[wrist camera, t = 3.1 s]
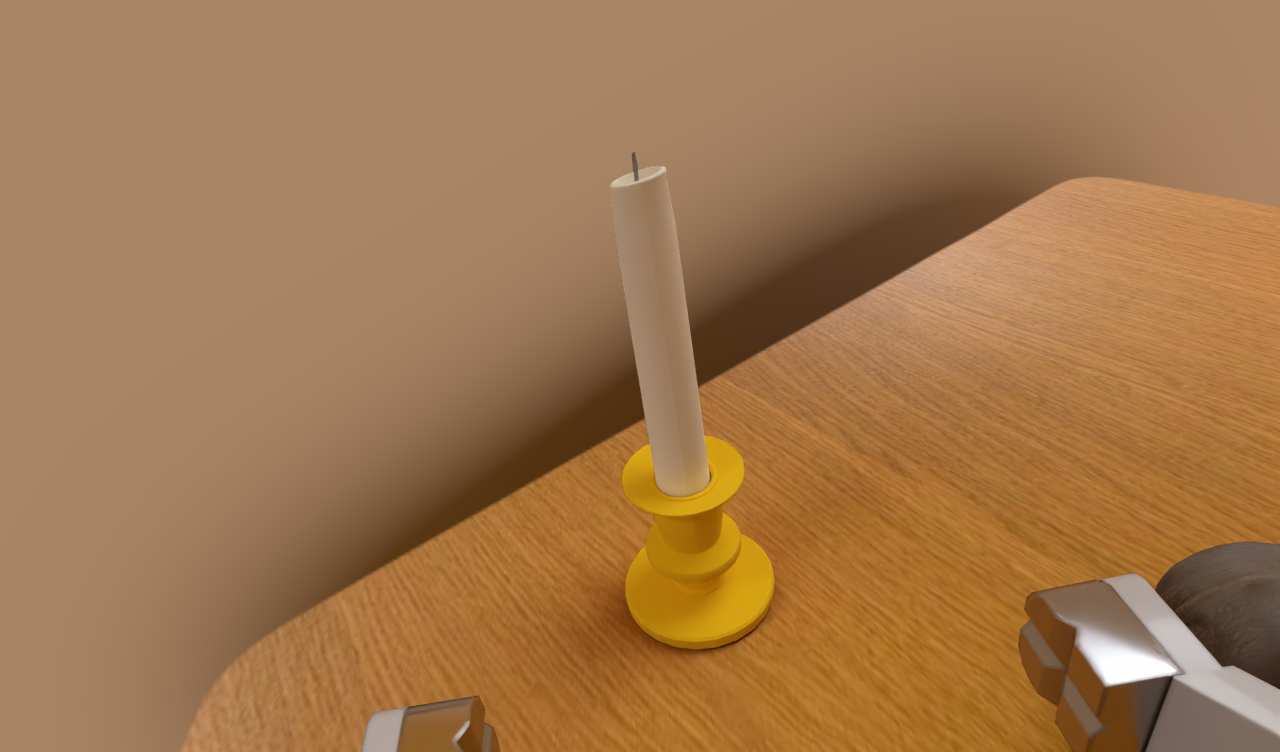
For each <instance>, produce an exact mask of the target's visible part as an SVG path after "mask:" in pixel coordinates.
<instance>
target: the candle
mask: <svg viewBox="0 0 1280 752" xmlns="http://www.w3.org/2000/svg"><path fill="white" fill-rule="evenodd" d="M632 162H633V172H631V173H629V174H627V175H624V176H622V177H620V178H618V179H617V180H615V181H613V182H612V184H611V185H610V196H611V204H612V212H613V220H614V228H615V236H616V244H617V252H618V258H619V263H620V270H621V275H622V282H623V287H624V294H625V300H626V305H627V311H628V317H629V323H630V329H631V335H632V341H633V347H634V353H635V358H636V365H637V371H638V377H639V383H640V389H641V395H642V400H643V407H644V413H645V419H646V425H647V431H648V437H649V443H650V444H648V445H646V446H644V447H643V448H641V449H640V450H639V451H638V452H636V453H635V454H634V455H633V456H632V457H631V459H630V460H629V461H628V462H627V464H626V466H625V468H624V471H623V473H622V487H623V490H624V492H625V494H626V497H627V498H628V499H629V500H630V501H631V502H632V503H633V504H634V505H635V506H636V507H638V508H640V509H642V510H643V511H645V512H647V513H650V514H654V518H655V521H656V522H655V523H654V524H653V526H652V527H651V529H650V530H649V532H648V535H647V538H646V547H644V548H643V549H642V550H641V551H640V552H639V553H638V554H637V556H636V557H635V559H634V560H633V562H632V563H631V565H630V567H629V570H628V573H627V576H626V579H625V596H626V600H627V604H628V607H629V610H630V612H631V615H632V617H633V619H634V620H635V621H636V623H637V624H638V625H639V626H640V628H641V629H642V630H643V631H644V632H646V633H647V634H649V635H650V636H652V637H653V638H654V639H656V640H657V641H660V642H663V643H665V644H668V645H671V646H674V647H678V648H687V649H696V650H697V649H706V648H715V647H719V646H722V645H725V644H728V643H731V642H734V641H736V640H738V639H740V638H741V637H743V636H744V635H746V634H748V633H749V632H751V631H752V630H754V628H755V627H756V626H757V625H758V624H759V623H760V622H761V621H762V620H763V619H764V618H765V616H766V615H767V613H768V610H769V608H770V606H771V604H772V602H773V597H774V589H775V579H774V574H773V569H772V564H771V562H770V560H769V559H768V557H767V555H766V554H765V552H764V550H763V549H762V548H761V547H760V546H759V545H757V544H756V543H755V542H754V541H753V540H752V539H750V538H749V537H747V536H745V535H743V534H741V533H740V532H739V528H738V527H737V525H736V523H735V522H734V521H733V520H732V519H731V518H730V517H729V516H728V515H727V514H725V513H723V506H722V505H723V504H725V503H726V502H727V501H729V500H730V499H731V498H732V497H733V496H734V495H735V494H736V493H737V492H738V490H739V488H740V487H741V485H742V483H743V480H744V474H745V468H744V464H743V459H742V458H741V456H740V455H739V453H738V452H737V450H736V449H734V448H733V447H732V446H731V445H729V444H728V443H727V442H724V441H722V440H720V439H717V438H715V437H711V436H706V435H704V430H703V423H702V415H701V408H700V401H699V393H698V386H697V378H696V371H695V364H694V357H693V349H692V342H691V335H690V327H689V319H688V313H687V306H686V297H685V290H684V283H683V276H682V268H681V261H680V253H679V246H678V238H677V231H676V224H675V219H674V214H673V208H672V203H671V198H670V192H669V187H668V181H667V176H666V167H663V166H654V167H648V168H644V169H641V170H638V165H637V160H636V155H635V152H633V153H632Z"/></svg>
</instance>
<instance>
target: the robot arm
mask: <svg viewBox="0 0 1280 752" xmlns="http://www.w3.org/2000/svg"><path fill="white" fill-rule="evenodd" d="M1024 610H1025V611H1026V613H1027V614H1028V616H1029V618H1030V620H1029V621H1028V622H1027V623H1026V624H1025V625H1024V626H1023V627H1022V628H1021V629H1020V636H1019V644H1018V646H1019V651H1020V655H1021V660H1022V664H1023V666H1024V669H1025V671H1026V674H1027V676H1028V678H1029V680H1030V682H1031V683H1032V685H1033V687H1034V688H1035V690H1036V692H1037V693H1038V694H1039V695H1040V696H1042V697H1044V698H1045V699H1047V700H1048V701H1050V702H1052V703H1053V704H1055V705H1056V706H1057V710H1056V719H1055V723H1056V724H1057V726H1058V728H1059V729H1060V731H1061V732H1062V734H1063V736H1064V737H1065V739H1066V740H1067V742H1068V744H1069V745H1070V747H1071V748H1072V750H1073V752H1280V689H1278V688H1276V687H1274V686H1272V685H1270V684H1268V683H1266V682H1264V681H1262V680H1260V679H1258V678H1256V677H1254V676H1253V675H1251V674H1249V673H1247V672H1245V671H1243V670H1241V669H1239V668H1237V667H1235V666H1226V667H1222V666H1221V665H1220V664H1219V663H1218V661H1217V660H1216V659H1215V658H1214V657H1213V656H1212V655H1211V654H1210V652H1209V651H1208V650H1207V649H1206V648H1205V647H1204V646H1203V645H1202V643H1201V642H1200V641H1199V640H1198V639H1197V638H1196V637H1195V635H1194V634H1193V633H1192V632H1191V631H1190V630H1189V629H1188V628H1187V626H1186V625H1185V624H1184V623H1183V622H1182V621H1181V620H1180V619H1179V617H1178V616H1177V615H1176V614H1175V613H1174V612H1173V611H1172V609H1171V608H1170V607H1169V606H1168V605H1167V604H1166V603H1165V602H1164V600H1163V599H1162V598H1161V597H1160V596H1159V595H1158V594H1157V593H1156V591H1155V590H1154V589H1153V588H1152V587H1151V586H1150V585H1149V583H1148V582H1147V581H1146V580H1145V579H1144V578H1142V577H1140V576H1139V575H1137V574H1126V575H1122V576H1117V577H1112V578H1107V579H1102V580H1091V581H1086V582H1081V583H1076V584H1071V585H1066V586H1061V587H1056V588H1051V589H1046V590H1041V591H1036V592H1032V593H1031V594H1030V595H1029V596H1028V597H1027V598H1026V603H1025V608H1024ZM484 717H485V708H484V705H483V703H482V701H481V699H480V697H479V695H478V696H472V697H466V698H460V699H454V700H448V701H441V702H435V703H429V704H423V705H417V706H411V707H404V708H398V709H393V710H387V711H382V712H376V713H373V715H372V717H371V719H370V721H369V723H368V724H367V727H366V732H365V736H364V741H363V745H362V750H361V752H500V748H499V744H498V739H497V736H496V733H495V731H494V728H493V727H492V726H490V725H488V724H486V723H484Z"/></svg>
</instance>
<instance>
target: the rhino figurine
mask: <svg viewBox="0 0 1280 752" xmlns="http://www.w3.org/2000/svg"><path fill="white" fill-rule="evenodd" d="M1155 591H1156V593H1157V594H1158V595H1159V596H1160V597H1161V598H1162V599H1163V600H1164V602H1165V603H1166V604H1167V605H1168V606H1169V607H1170V608H1171V609H1172V611H1173V612H1174V613H1175V614H1176V615H1177V616H1178V617H1179V619H1180V620H1181V621H1182V622H1183V623H1184V624H1185V625H1186V626H1187V628H1188V629H1189V630H1190V631H1191V632H1192V633H1193V634H1194V635H1195V637H1196V638H1197V639H1198V640H1199V641H1200V642H1201V643H1202V645H1203V646H1204V647H1205V648H1206V649H1207V650H1208V651H1209V652H1210V654H1211V655H1212V656H1213V657H1214V658H1215V659H1216V660H1217V661H1218V663H1219V664H1220V665H1221V666H1222V667H1226V666H1235V667H1237V668H1239V669H1241V670H1243V671H1245V672H1247V673H1249V674H1251V675H1253V676H1254V677H1256V678H1258V679H1260V680H1262V681H1264V682H1266V683H1268V684H1270V685H1272V686H1274V687H1276V688H1278V689H1280V544H1269V543H1258V542H1238V543H1231V544H1224V545H1219V546H1215V547H1212V548H1209V549H1206V550H1202V551H1200V552H1198V553H1195V554H1193V555H1191V556H1189V557H1187V558H1185V559H1184V560H1182V561H1180V562H1178V563H1177V564H1175V565H1174V566H1173V567H1172V568H1170V569H1169V571H1168V572H1167V573H1166V574H1165V575H1164V576H1163V577H1162V578H1161V580H1160V581H1159V583H1158V584H1157V587H1156V590H1155Z"/></svg>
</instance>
